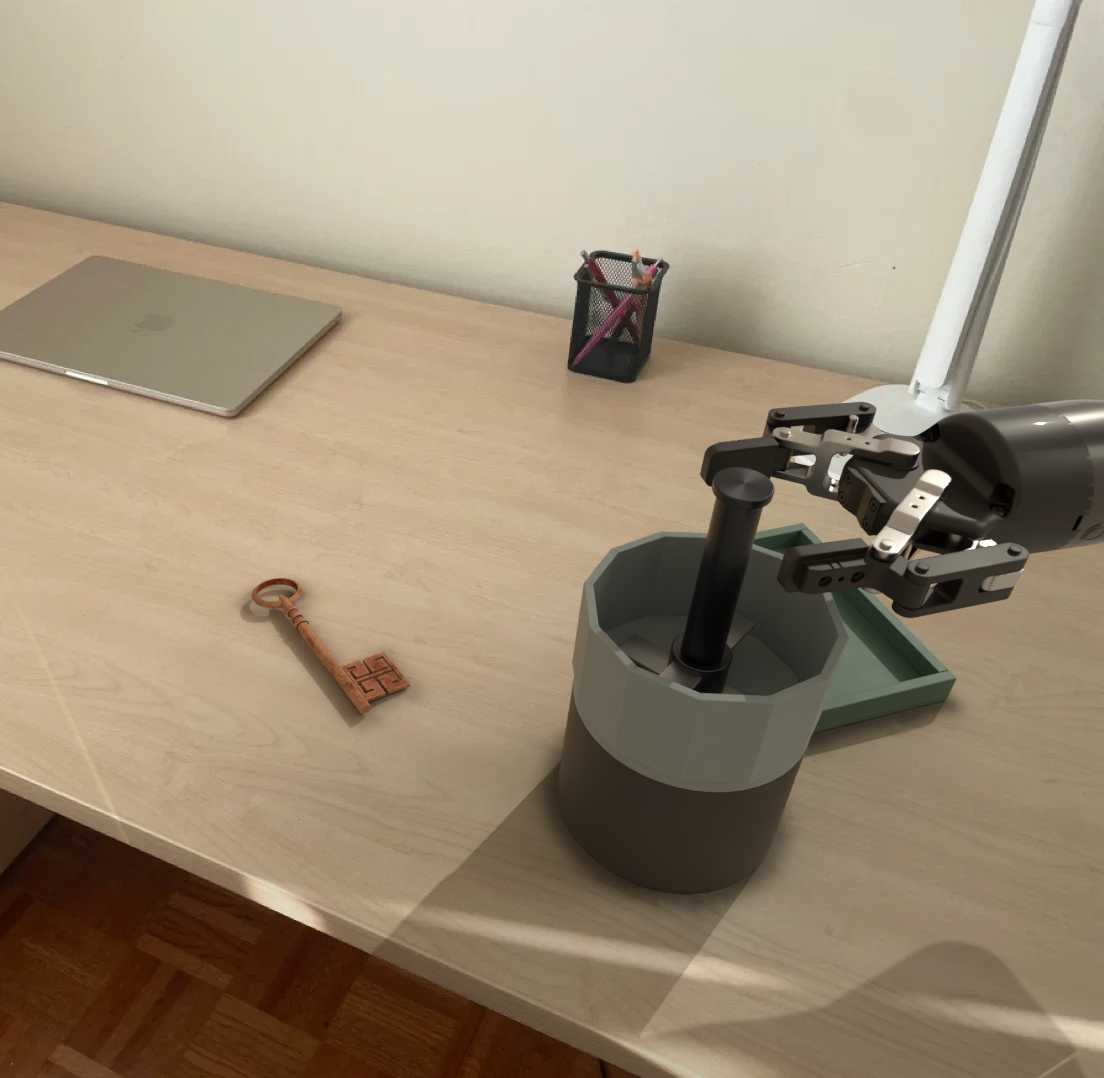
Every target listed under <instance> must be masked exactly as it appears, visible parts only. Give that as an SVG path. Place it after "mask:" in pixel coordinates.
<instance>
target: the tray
mask: <svg viewBox="0 0 1104 1078" xmlns="http://www.w3.org/2000/svg"><path fill="white" fill-rule="evenodd" d="M818 543H824V542H823V541H822V540H821V539H820V538H819V537H818V536H817V535H816V534H815V533H814V531H812V530H811V529H810V528H809V527H808V526H807V525H806V524H805V523H804V522H800V523H795V524H790V525H786V526H780V527H776V528H775V527H774V528H771V529H765V530H760V531H757V532H756V535H755V539H754V543H753V544H754V545H757V546H760V547H763V548H766V549H769V550H772V551H774V552H777V553H780V554H783V555H784V554H785V553H786V551H787V550H789V549H790V548H792V547H796V546H803V545H811V544H818ZM831 594H832V597H833V599H834V602H835V604H836V607H837V609H838V612H839V614H840V617H841V619H842V622H843V624H844V627H845V629H846V632H847V634H848V637H849V640H848V642H847V645H846V648H845V651H844V653H843V656H842V659H841V661H840V664H839V667H838V670H837V672H836V675H835V678H834V680H833V683H832V686H831V688H830V691H829V694H828V697H827V699H826V702H825V705H824V707H823V710H822V713H821V715H820V718H819V720H818V722H817V725H816V727H815V729H814V731H813V733H812V734H815V733H819V732H822V731H827V730H830V729H834V728H838V727H842V726H846V725H847V726H848V725H850V724H855V723H858V722H862V721H867V720H870V719H875V718H878V717H882V716H886V715H890V714H895V713H899V712H903V711H906V710H911V709H915V708H919V707H922V706H927V705H931V704H934V703H939V702H943V701H946V700H947V699H948V698H949V696H950V693H951V691H952V689H953V687H954V685H955V682H956V681H957V676H955V675H954V674H953V672H952V671H951V670H949V668H948V667H947V666H946V665H945V664H944V663H942V661H940V659H939V658H937V656H936V655H935V654H934V653H933V652H932V651H931V650H929V648H928V647H927V646H926V645H925V644H924V643H923V642H922V641H921V640H920V639H919V638H918V637H917V636H916V635H915V634H914V633H913V632H912V631H911V630H910V629H909V628H908V626H907V625H905V624H904V623H903V622H902V621H901V620H900V619H899V618H898V617H897V615H895V614H894V613H893V612H892V610H890V609H889V608H888V607H887V606H886V605H885V604H884V603H883V602H882V601H881V600H880V598H878V596H877V595H876V594H872V593H868V592H866V591H864V590H862V589H861V588H856V589H849V590H842V591H833V592H831Z"/></svg>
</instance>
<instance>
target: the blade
mask: <svg viewBox="0 0 1104 1078" xmlns="http://www.w3.org/2000/svg"><path fill="white" fill-rule="evenodd" d="M775 489H776V488H775V485H774V483H773V481H772V480H771V478H770V479H769V478H768V477H766V476H765V475H763V474H762V473H760V472H757V471H755V470H751V469H747V468H727V469H724V470H721V471H720V472H718V473H717V474H716V475H715V477H714V479H713V484H712V487H711V492H712V493H713V495H714V496H715V498H714V499H715V500H714V503H713V507H712V513H711V516H710V521H709V526H708V530H707V532H706V533H707V538H706V542H705V546H704V551H703V555H702V559H701V563H700V568H699V572H698V576H697V580H696V585H695V589H694V593H693V597H692V602H691V606H690V610H689V615H688V619H687V623H686V627H685V632H684V633H681V634H680V635H678V636H677V637H676V638H675V639H674V640H673V642H672V645H671V649H670V653H669V652H667V651H665V650H663V649H661V648H660V647H658V646H656V645H654V644H653V643H651V642H649V641H647V640H645V639H644V638H642V637H640V636H638V635H636V634H635V633H634V634H633V635H632V636H631V637H630V638H628V639H627V640H626V641H625V642H624V643H623V644H622V645H621V646H620V647H619V648H620V649H621V650H622V651H623V652H624V653H625V654H626V655H627V656H628V657H629V658H630V659H631V660H632V661H633V662H635V663H637V664H638V665H640V666H642V667H643V668H645V669H647V670H649V671H650V672H652V673H654V674H656V675H659V676H661V677H664V678H666V679H668V680H671V681H673V682H675V683H678V684H680V685H682V686H685V687H687V688H690V689H692V690H694V691H697V692H699V693H711V694H735V695H744V694H742V693H740V692H738V691H737V690H735V689H733V688H731V687H729V686H728V685H726V684H725V683H726V680H727V676H728V672H729V669H730V665H731V662H732V652H731V651H732V650H733V649H734V647H735V646H736V645H737V644H738V643H739V642H740V641H741V640H742V639H743V638H744V637H745V636H746V635H747V634H748V633H749V632H750V631H751V630H752V629H753V628H754V627H755V626H756V623H755V622H753V621H751V620H749V619H747V618H745V617H743V616H741V615H739V614H737V613H735V609H736V605H737V602H738V598H739V594H740V591H741V587H742V583H743V580H744V576H745V572H746V569H747V565H748V561H749V557H750V554H751V550H752V546H753V543H754V539H755V535H756V532H758V527H759V524H760V520H761V517H762V513H763V509H764V508H765V507H766V506H768V505H770V503H772V501H773V498H774V494H775Z"/></svg>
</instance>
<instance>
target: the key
mask: <svg viewBox="0 0 1104 1078" xmlns="http://www.w3.org/2000/svg"><path fill="white" fill-rule="evenodd" d="M274 586H287V587H291V588H292V589H294V590H295V591H296V593H294V594H293V595H292V596H290V597H286V596H284V595H282V594H279V595H278V600H276V601H273V600H272V601H271V600H270V601H269V600H265V599H263V598H261V597H260V596H259V593H260V592H261V591H263V590H264V589H266V588H269V587H274ZM302 594H303V587H302V586H301V584H299V582H297V581H296V580H294V579H290V578H285V577H277V578H271V579H268V580H264V581H262V582H261V583H259V584H257V585H256V586H255V587H254V588H253V590H252V592H251V599H252V601H253V602H254V603H255V604H256V605H258V606H260V607H262V608H266V609H279V608H280V609H281V608H282V609H283V610H284V611H285V614H286V616H287V617H288V618H290V621H291V622H292V624H293V625H294V627H295V629H296V630H297V631H298V632H299V633H300V634H301V635H302V637H303V638H304V639H305V641H306V642H307V644H308V645H309V646H310V648H311V649H312V650H313V651H314V653H315V654H316V656H318V658H319V659H320V661H321V662H322V664H323V665H324V666H325V668H326V669H327V671H329V673H330V674H331V676H332V677H333V679H334V680H335V681H336V682H337V683H338V685H339V686H340V688H341V689H342V691H343V692H344V693H345V695H346V696H347V698H349V700H350V701H351V702H352V704H353V705H354V706H355V707H356V709H357V711H358V712H359V713H360V714H361V715H365V714H367V713H368V712H369V711H370V710H371V709H372V706H371V703H369V702H371V701H373V700H376V699H379V698H382V697H385V696H386V694H388V695H390V694H393V693H395V692H399V691H401V690H403V689H406V688H408V687H411V683H410V681H408V679H407V678H406V677H405V676H404V674H402V671H400V669H399V668H398V667H397V666H396V665H395V663H394V662H393V661H392V660H391V659H390V657H389V656H388V655H387V654H386V652H385V651H382V652H379V653H375V654H373V655H370V656H368V657H365V658H363V659H362V660H361V659H359V660H356V661H353V662H350V663H347V664H345V665H342V666H341V665H340V664H339V662H338V661H337V659H336V658H335V657H334V656H333V654H332V653H331V652H330V651H329V649H328V648H327V646H325V644H324V643H323V641H322V640H321V638H319V636H318V635H317V633H316V632H315V630H313V628H312V627H311V626H310V623H309V621H308V620H307V619H306V618H305V617H304V616H303V614H302V613H301V612H299V610H298V608H297V607H296V606H294V605H293V604H294V603H296V602H297V601H298V600H299V599H300V598H301V596H302ZM370 673H371V674H370ZM359 684H360V685H359Z"/></svg>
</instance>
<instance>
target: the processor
mask: <svg viewBox="0 0 1104 1078" xmlns="http://www.w3.org/2000/svg"><path fill="white" fill-rule="evenodd" d="M707 533H708V532H693V531H691V532H690V531H689V532H688V531H658V532H656V533H652V534H650V535H647V536H643V537H640V538H639V539H638V538H637V539H635V540H632V541H630V542H626V543H624V544H620V545H618V546H615V547H611V548H610V549H609V550H608V552H607V553H606V554H605V555H604V557H603V558H602V560H601V561H600V562H599V563H598V564H597V566H596V567H594V569H593V571H592V572H591V573H590V574H589V576H588V577H587V578H586V579H585V581H584V582H583V585H582V594H581V600H580V607H579V614H578V618H577V619H578V620H577V628H576V634H575V640H574V648H573V654H572V661H571V662H572V673H573V679H572V685H571V691H570V699H569V705H568V712H567V719H566V725H565V733H564V739H563V745H562V752H561V759H560V766H559V772H558V777H557V798H558V799H557V800H558V804H559V805H558V806H559V808H560V811H561V815H562V818H563V820H564V822H565V824H566V826H567V828H568V829H569V831H570V833H571V834H572V836H573V837H574V838H575V840H576V841H577V843H578V844H579V845H580V846H581V847H582V848H583V850H584V851H585V852H586V853H587V854H588V855H590V857H592V858H593V859H594V860H595V861H596V862H597V863H599V864H600V865H602V866H603V867H604V868H606V869H607V870H609V871H610V872H612V873H613V874H615V875H617V876H619V877H621V878H623V879H625V880H627V881H630V882H632V883H634V884H637V885H640V886H643V887H645V888H649V889H652V890H657V891H661V892H666V893H667V892H668V893H676V894H700V893H707V892H713V891H716V890H720V889H724V888H727V887H729V886H731V885H734V884H736V883H738V882H739V881H741V880H743V879H745V878H746V877H748V876H749V875H750V874H751V873H753V872H754V870H756V869H757V868H758V867H759V866H760V865H761V863H762V862H763V861H764V860H765V858H766V857H767V854H768V853H769V851H770V849H771V847H772V843H773V842H774V838H775V836H776V832H777V830H778V827H779V825H780V822H781V819H782V817H783V814H784V811H785V808H786V806H787V803H788V800H789V797H790V795H791V792H792V789H793V786H794V784H795V781H796V778H797V776H798V773H799V771H800V768H801V765H802V762H803V759H804V756H805V754H806V751H807V748H808V745H809V743H810V740H811V739H812V735H813V734H814V733H813V731H814V729H815V727H816V725H817V722H818V720H819V718H820V715H821V713H822V710H823V707H824V705H825V702H826V699H827V697H828V694H829V691H830V688H831V686H832V683H833V680H834V678H835V675H836V672H837V670H838V667H839V664H840V661H841V659H842V656H843V653H844V651H845V648H846V645H847V642H848V640H849V637H848V634H847V632H846V629H845V627H844V624H843V622H842V619H841V617H840V614H839V612H838V609H837V607H836V604H835V602H834V599H833V597H832V594H831V592H828V593H827V592H825V593H821V594H806V593H801V592H794V593H788V592H786V591H785V590H784V589H783V587H782V586H781V585H780V583H779V582H778V580H777V576H778V573H779V569H780V566H781V563H782V559H783V556H784V555H783V554H780V553H777V552H774V551H772V550H769V549H766V548H763V547H760V546H757V545H754V544H753V546H752V550H751V554H750V557H749V561H748V565H747V569H746V572H745V576H744V580H743V583H742V587H741V591H740V594H739V598H738V602H737V605H736V609H735V613H737V614H739V615H741V616H743V617H745V618H747V619H749V620H751V621H753V622H755V623H756V626H755V627H754V628H753V629H752V630H751V631H750V632H749V633H748V634H747V635H746V636H745V637H744V638H743V639H742V640H741V641H740V642H739V643H738V644H737V645H736V646H735V647H734V649H733V650H732V651H731V652H732V662H731V665H730V669H729V672H728V676H727V680H726V683H725V684H726V685H728V686H729V687H731V688H733V689H735V690H737V691H738V692H740V693H742V694H744V695H735V694H711V693H699V692H697V691H694V690H692V689H690V688H687V687H685V686H682V685H680V684H678V683H675V682H673V681H671V680H668V679H666V678H664V677H661V676H659V675H656V674H654V673H652V672H650V671H649V670H647V669H645V668H643V667H642V666H640V665H638V664H637V663H635V662H633V661H632V660H631V659H630V658H629V657H628V656H627V655H626V654H625V653H624V652H623V651H622V650H621V649H620V648H619V647H620V646H621V645H622V644H623V643H624V642H625V641H626V640H627V639H628V638H630V637H631V636H632V635H633V634H634V633H635V634H636V635H638V636H640V637H642V638H644V639H645V640H647V641H649V642H651V643H653V644H654V645H656V646H658V647H660V648H661V649H663V650H665V651H667V652H669V653H670V649H671V645H672V642H673V640H674V639H675V638H676V637H677V636H678V635H680V634H681V633H684V632H685V627H686V623H687V619H688V615H689V610H690V606H691V602H692V597H693V593H694V589H695V585H696V580H697V576H698V572H699V568H700V563H701V559H702V555H703V551H704V546H705V542H706V538H707Z"/></svg>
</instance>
